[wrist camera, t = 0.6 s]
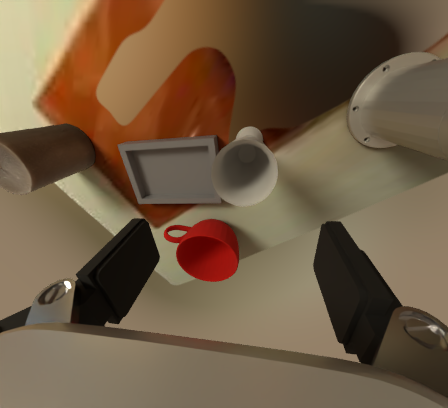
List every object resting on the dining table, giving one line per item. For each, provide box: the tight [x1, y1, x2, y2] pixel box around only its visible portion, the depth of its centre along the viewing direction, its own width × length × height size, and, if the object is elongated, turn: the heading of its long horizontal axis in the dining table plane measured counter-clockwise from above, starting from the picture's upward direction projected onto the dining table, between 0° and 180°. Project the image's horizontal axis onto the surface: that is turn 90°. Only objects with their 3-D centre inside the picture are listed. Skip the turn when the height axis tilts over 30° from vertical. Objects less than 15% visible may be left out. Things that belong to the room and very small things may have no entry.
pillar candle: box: [0, 124, 95, 195], centre depth 34 cm, size 10×10×15 cm
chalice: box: [211, 127, 278, 206], centre depth 27 cm, size 7×7×18 cm
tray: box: [118, 135, 222, 204], centre depth 38 cm, size 19×13×3 cm
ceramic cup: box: [164, 219, 239, 282], centre depth 42 cm, size 13×17×10 cm
